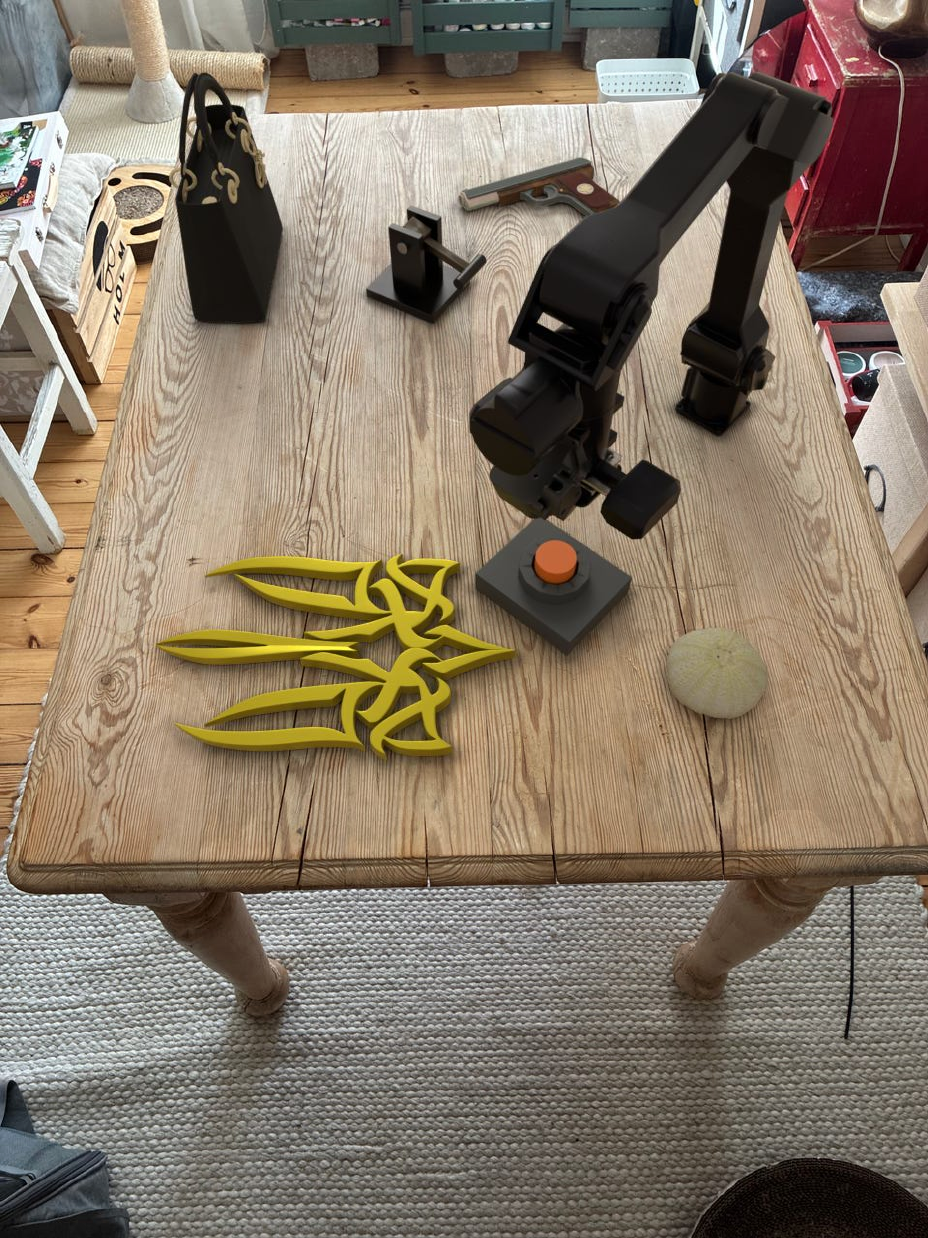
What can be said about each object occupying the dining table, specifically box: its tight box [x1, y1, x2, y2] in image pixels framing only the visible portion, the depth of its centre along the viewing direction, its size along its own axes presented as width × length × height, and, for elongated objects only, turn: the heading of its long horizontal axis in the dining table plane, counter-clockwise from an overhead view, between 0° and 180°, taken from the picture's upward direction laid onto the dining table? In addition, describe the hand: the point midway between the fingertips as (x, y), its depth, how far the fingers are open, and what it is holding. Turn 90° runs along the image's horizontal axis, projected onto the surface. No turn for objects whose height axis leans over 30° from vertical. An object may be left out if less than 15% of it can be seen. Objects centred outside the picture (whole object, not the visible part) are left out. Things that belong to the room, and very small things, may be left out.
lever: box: [402, 217, 488, 290], centre depth 112 cm, size 10×6×2 cm, turn 59°
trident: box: [155, 553, 517, 762], centre depth 90 cm, size 22×2×35 cm
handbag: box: [168, 72, 284, 324], centre depth 110 cm, size 21×9×25 cm, turn 179°
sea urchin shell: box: [665, 626, 769, 720], centre depth 88 cm, size 9×8×8 cm
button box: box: [474, 518, 633, 657], centre depth 93 cm, size 12×10×4 cm
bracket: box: [365, 205, 471, 324], centre depth 115 cm, size 10×9×10 cm
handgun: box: [458, 156, 621, 217], centre depth 127 cm, size 2×20×12 cm
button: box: [535, 540, 577, 584], centre depth 91 cm, size 4×4×2 cm
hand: (563, 516), depth 86 cm, fingers closed
